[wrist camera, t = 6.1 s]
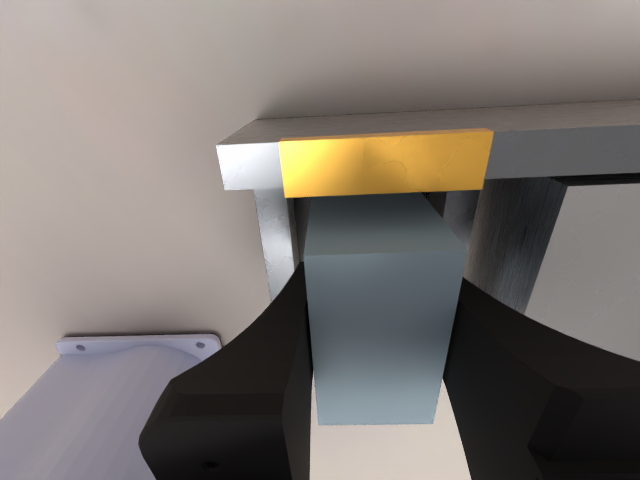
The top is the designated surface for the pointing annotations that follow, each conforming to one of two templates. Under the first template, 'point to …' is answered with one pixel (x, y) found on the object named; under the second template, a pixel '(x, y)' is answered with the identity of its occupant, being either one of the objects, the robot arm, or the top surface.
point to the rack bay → (478, 198)
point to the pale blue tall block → (380, 306)
